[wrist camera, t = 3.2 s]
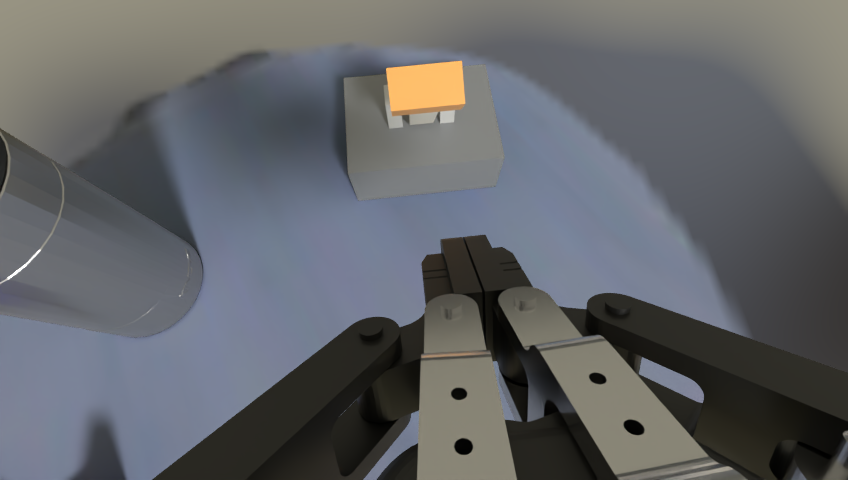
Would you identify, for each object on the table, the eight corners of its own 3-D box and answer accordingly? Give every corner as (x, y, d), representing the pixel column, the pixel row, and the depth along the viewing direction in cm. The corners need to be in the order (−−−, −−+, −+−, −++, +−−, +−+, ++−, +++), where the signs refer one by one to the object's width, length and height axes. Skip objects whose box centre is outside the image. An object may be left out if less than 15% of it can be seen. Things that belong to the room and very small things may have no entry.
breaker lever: (396, 131, 34) (390, 111, 23) (393, 101, 33) (386, 68, 23) (447, 126, 34) (465, 103, 23) (445, 96, 33) (461, 60, 23)
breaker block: (358, 200, 37) (340, 153, 30) (353, 113, 41) (336, 51, 33) (495, 186, 37) (511, 135, 30) (479, 101, 41) (489, 37, 34)
